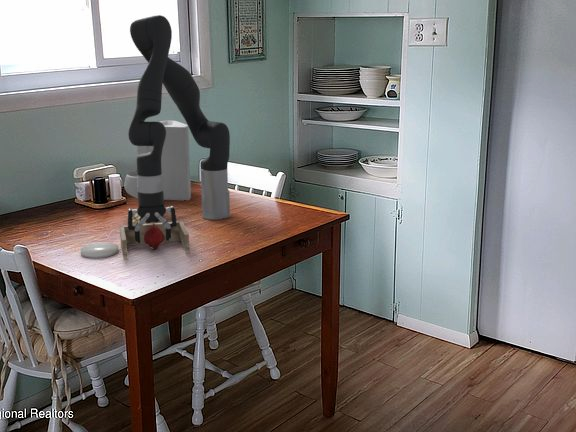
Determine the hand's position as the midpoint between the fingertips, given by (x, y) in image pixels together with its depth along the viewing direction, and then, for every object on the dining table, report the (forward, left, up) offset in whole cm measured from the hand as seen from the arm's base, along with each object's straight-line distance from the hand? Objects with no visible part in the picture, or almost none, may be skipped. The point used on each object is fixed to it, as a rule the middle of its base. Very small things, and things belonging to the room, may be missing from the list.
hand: (153, 241), depth 208 cm
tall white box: (-12, -63, -3) cm, 64 cm away
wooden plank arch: (0, 0, -3) cm, 3 cm away
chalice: (-1, -38, -3) cm, 38 cm away
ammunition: (+2, -20, -3) cm, 21 cm away
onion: (0, 0, -3) cm, 3 cm away
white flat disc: (+16, -2, -3) cm, 16 cm away
